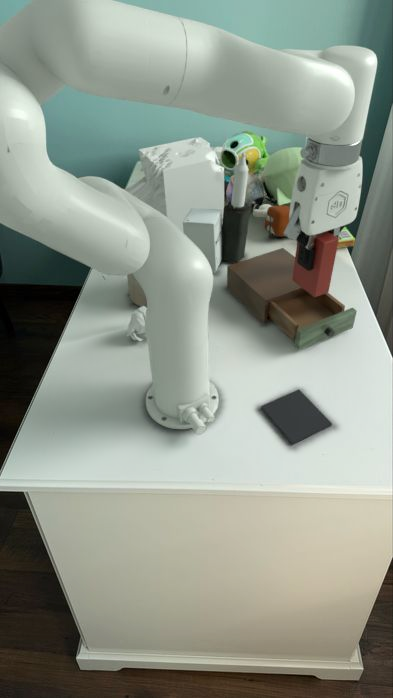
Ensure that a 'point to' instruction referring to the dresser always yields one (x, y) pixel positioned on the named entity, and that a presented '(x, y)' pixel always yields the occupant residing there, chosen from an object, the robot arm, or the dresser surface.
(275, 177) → the toy
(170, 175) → the tissue box
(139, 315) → the figurine
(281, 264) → the cabinet
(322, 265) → the book
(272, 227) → the toy
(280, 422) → the pad
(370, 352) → the dresser surface
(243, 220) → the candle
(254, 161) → the turtle holder
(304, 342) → the drawer
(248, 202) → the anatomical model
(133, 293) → the planter
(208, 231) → the white packaging box
